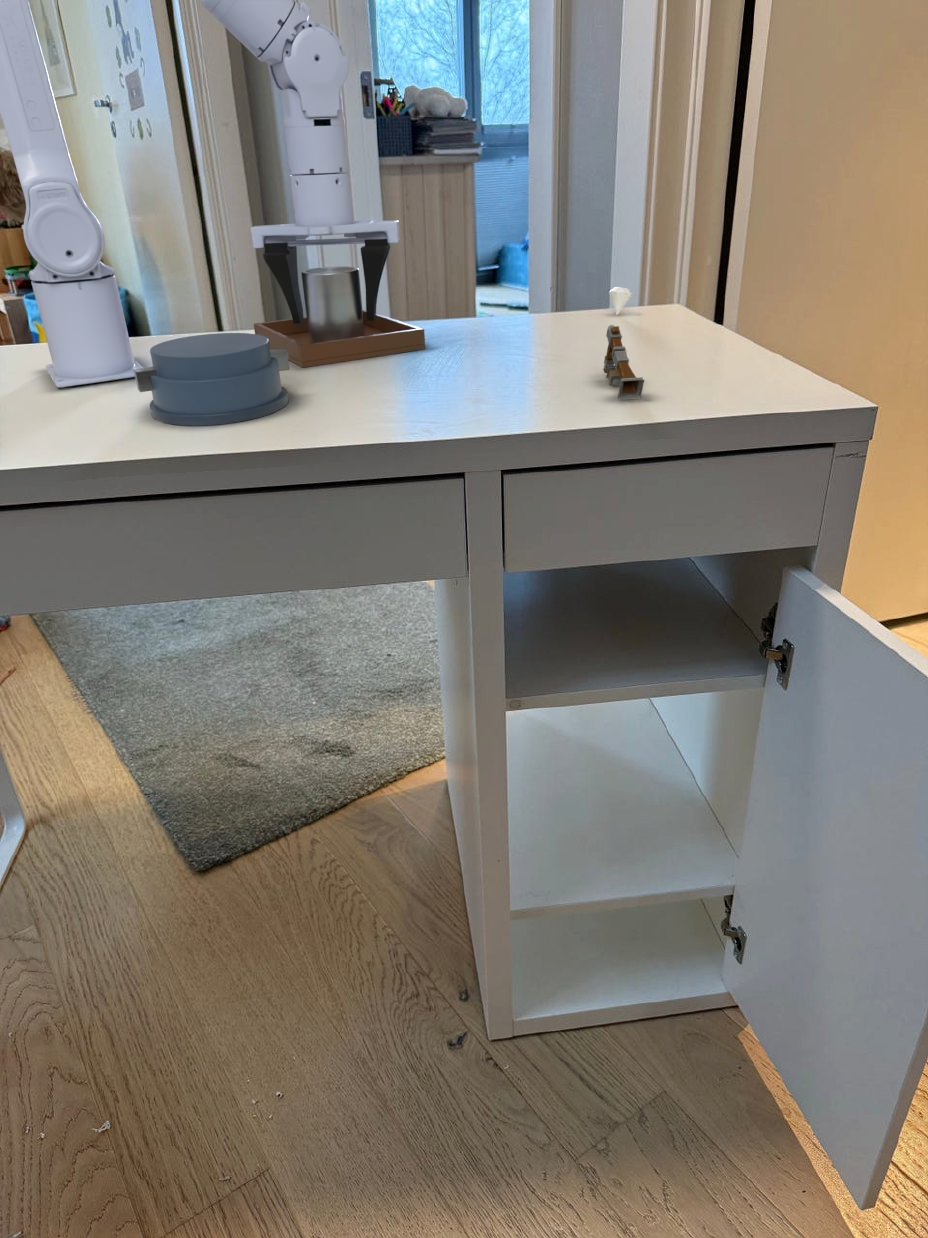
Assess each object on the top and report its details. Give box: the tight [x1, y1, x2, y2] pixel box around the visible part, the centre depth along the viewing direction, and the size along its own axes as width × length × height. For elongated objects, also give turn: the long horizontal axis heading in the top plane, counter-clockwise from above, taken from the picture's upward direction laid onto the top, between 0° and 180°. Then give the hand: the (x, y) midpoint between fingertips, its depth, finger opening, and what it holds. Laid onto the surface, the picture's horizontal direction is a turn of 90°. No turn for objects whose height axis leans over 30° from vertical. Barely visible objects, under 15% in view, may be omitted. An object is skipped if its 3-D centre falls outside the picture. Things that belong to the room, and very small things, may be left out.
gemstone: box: [608, 286, 634, 315], centre depth 100 cm, size 3×3×3 cm
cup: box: [300, 265, 365, 344], centre depth 89 cm, size 6×6×7 cm
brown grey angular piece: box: [602, 324, 645, 401], centre depth 71 cm, size 2×8×4 cm, turn 6°
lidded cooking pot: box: [134, 332, 291, 427], centre depth 69 cm, size 11×12×5 cm
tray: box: [253, 309, 426, 368], centre depth 90 cm, size 15×13×2 cm
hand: (335, 320), depth 89 cm, fingers open, 7 cm apart
